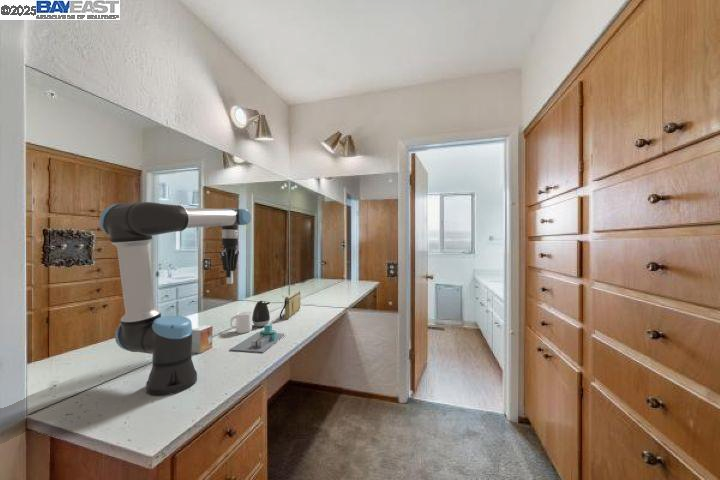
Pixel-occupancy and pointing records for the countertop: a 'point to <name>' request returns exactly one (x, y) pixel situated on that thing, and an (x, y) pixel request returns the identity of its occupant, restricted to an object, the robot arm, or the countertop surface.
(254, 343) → the swing arm
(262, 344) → the tongs base
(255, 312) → the pump dispenser
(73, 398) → the countertop surface
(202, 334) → the small box
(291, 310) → the clutch purse
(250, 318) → the mug
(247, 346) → the mat
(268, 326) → the lock collar
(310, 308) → the countertop surface
